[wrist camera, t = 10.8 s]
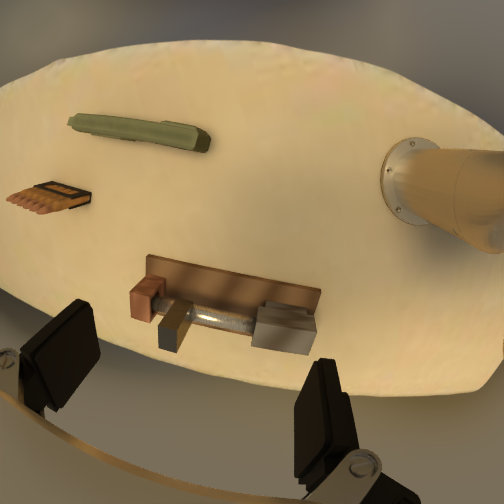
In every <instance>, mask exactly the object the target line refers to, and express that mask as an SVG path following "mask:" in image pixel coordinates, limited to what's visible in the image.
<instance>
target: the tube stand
mask: <svg viewBox="0 0 504 504" xmlns="http://www.w3.org/2000/svg"><path fill="white" fill-rule="evenodd" d="M155 294H156V295H160V296H164V297H168V298H172V299H176V298H181V299H185V300H189V301H193V304H196V305H201V306H205V307H209V308H214V309H218V310H223V311H228V312H233V313H237V314H242V315H247V316H252V317H257V321H256V326H255V330H254V334H249V333H244V332H239V331H234V330H230V329H225V328H220V327H216V326H211V325H207V324H203V323H199V322H194V321H192V324H196V325H201V326H205V327H209V328H214V329H218V330H223V331H227V332H232V333H237V334H242V335H247V336H252V343H251V346H253V347H258V348H264V349H269V350H275V351H281V352H288V353H294V354H301V355H309V352H310V350H311V347H312V344H313V342H314V339H315V337H316V334H317V330H316V324H315V319H314V313H315V310H316V307H317V304H318V301H319V298H320V295H321V289H317V288H312V287H306V286H301V285H296V284H290V283H285V282H280V281H275V280H269V279H264V278H259V277H254V276H249V275H244V274H239V273H234V272H229V271H224V270H220V269H215V268H210V267H205V266H200V265H196V264H191V263H186V262H182V261H177V260H173V259H168V258H163V257H159V256H154V255H150V254H148V255H147V256H146V276H145V277H144V278H143V279H142V280H141V281H140V282H139V283H138V284H137V285H136V286H135V287H134V288H133V289H132V290H131V291H130V310H131V318H134V319H137V320H140V321H144V322H147V323H150V322H151V321H152V320H153V318H154V317H155V316H156V314H158V315H161V316H165V315H166V314H163V313H159V312H156V311H152V310H151V298H152V297H153V296H154V295H155Z"/></svg>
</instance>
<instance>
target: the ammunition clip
mask: <svg viewBox="0 0 504 504" xmlns="http://www.w3.org/2000/svg"><path fill="white" fill-rule="evenodd" d="M6 201H10V202H11V203H13V204H17V206H23V208H24V209H29V211H32V212H36V211H37V212H36V213H37V214H48V213H51V212H57V211H61V210H64V209H67V208H68V209H73V208H76V207H79V206H82V205H86V204H89V203H90V201H91V192H88V191H85V190H81V189H78V188H74V187H71V186H67V185H64V184H60V183H57V182H53V181H50V182H46V183H42V184H38V185H34V186H33V187H32V188H28V189H25V190H23V191H21V192H18V193H15V194H13V195H11V196H9V197H8V198H7V199H6Z"/></svg>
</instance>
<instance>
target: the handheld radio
mask: <svg viewBox="0 0 504 504" xmlns="http://www.w3.org/2000/svg"><path fill="white" fill-rule="evenodd" d="M67 125H69V126H72V128H73V129H74V130H76V131H79V132H84V133H91V134H92V135H96V136H103V137H110V138H116V139H121V140H130V141H136V140H137V141H146V142H152V143H156V144H162V145H166V146H171V147H175V148H180V149H185V150H190V151H196V152H201V153H206V152H207V151H208V149H209V145H210V141H211V138H210V136H209V135H207V133H206V132H205V131H203V130H201V129H199V128H197V127H195V126H191V125H186V124H181V123H176V122H170V121H162V122H161V123H157V122H151V121H145V120H138V119H130V118H123V117H114V116H105V115H94V114H81V113H78V114H76V115H75V117H69V120H68V124H67Z"/></svg>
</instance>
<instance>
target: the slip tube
mask: <svg viewBox="0 0 504 504" xmlns="http://www.w3.org/2000/svg"><path fill="white" fill-rule="evenodd" d="M151 310H152V311H156V312H159V313H163V314H166V315H165V316H164V317H163V319H162V320H161V322H160V323H159V325H158V344H159V348H160V349H163V350H167V351H170V352H174V353H177V351H178V349H179V347H180V345H181V343H182V341H183V339H184V337H185V335H186V333H187V331H188V329H189V327H190V325H191V323H192V321H194V322H199V323H203V324H207V325H211V326H216V327H220V328H225V329H230V330H234V331H239V332H244V333H249V334H254V330H255V326H256V321H257V317H252V316H247V315H242V314H237V313H233V312H228V311H223V310H218V309H214V308H209V307H205V306H201V305H196V304H193V301H189V300H185V299H181V298H176V299H172V298H168V297H164V296H160V295H156V294H155V295H154V296H153V297H152V298H151Z"/></svg>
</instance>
